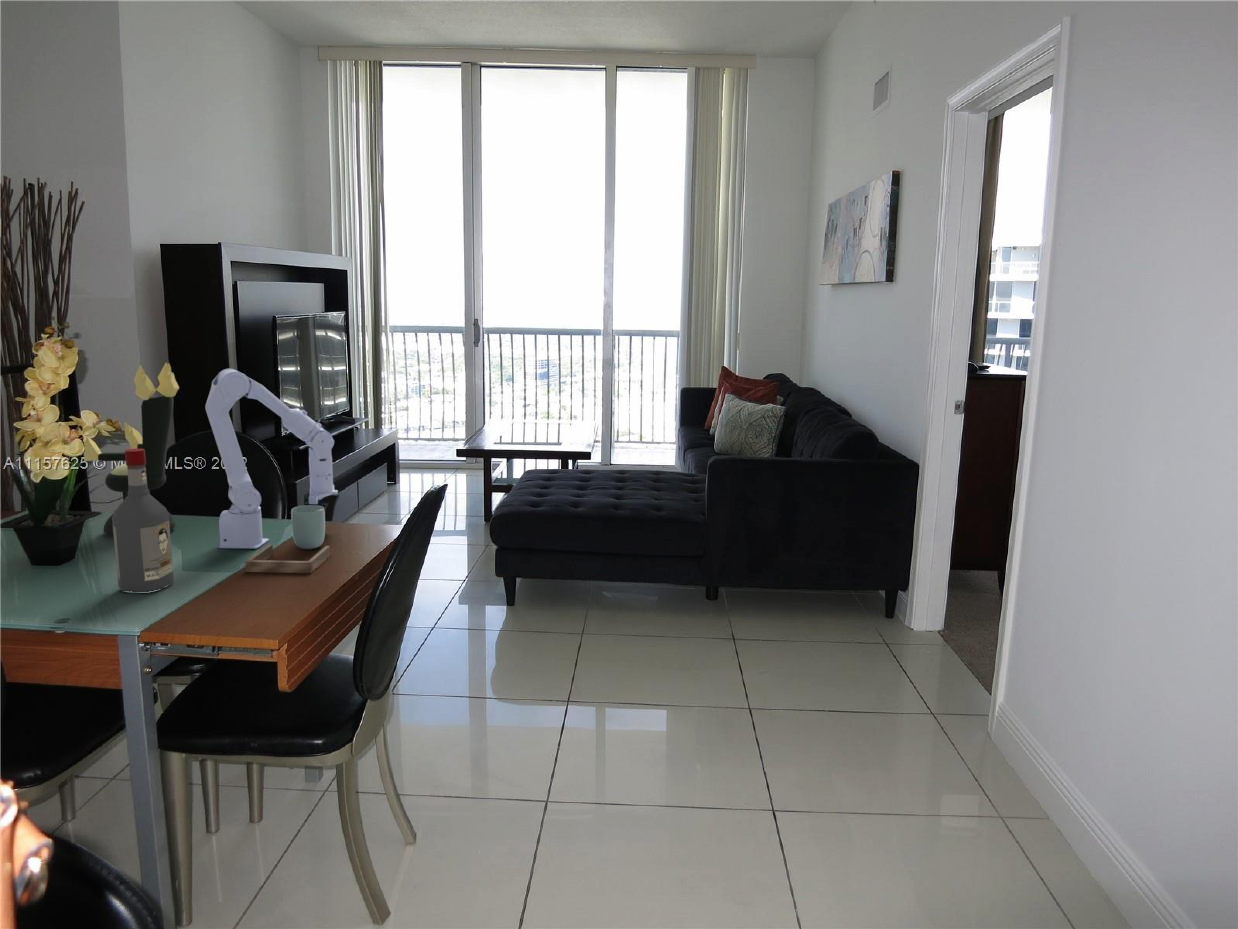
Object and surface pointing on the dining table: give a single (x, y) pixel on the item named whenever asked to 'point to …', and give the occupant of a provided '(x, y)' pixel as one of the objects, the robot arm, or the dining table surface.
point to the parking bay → (284, 562)
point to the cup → (308, 526)
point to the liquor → (141, 533)
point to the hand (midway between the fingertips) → (323, 524)
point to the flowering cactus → (143, 437)
